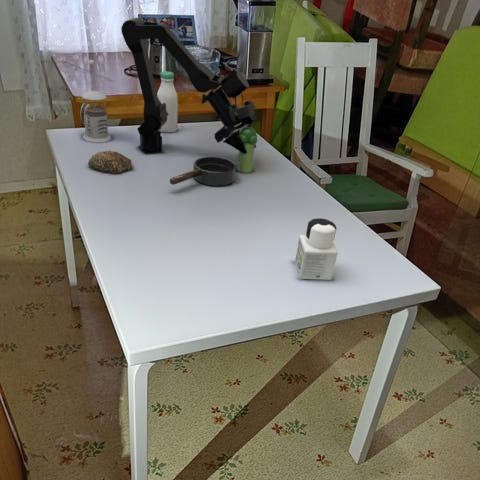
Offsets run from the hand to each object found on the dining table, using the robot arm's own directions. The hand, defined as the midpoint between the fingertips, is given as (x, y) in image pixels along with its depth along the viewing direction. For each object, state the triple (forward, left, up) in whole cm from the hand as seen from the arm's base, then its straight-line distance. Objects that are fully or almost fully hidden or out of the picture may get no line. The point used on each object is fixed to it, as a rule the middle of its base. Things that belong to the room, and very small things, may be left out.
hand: (250, 150), depth 168 cm
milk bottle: (-10, +44, -7) cm, 46 cm away
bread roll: (-41, +16, -7) cm, 44 cm away
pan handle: (-26, -6, -4) cm, 27 cm away
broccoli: (-1, +1, -7) cm, 7 cm away
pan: (-14, -2, -7) cm, 15 cm away
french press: (-38, +42, -7) cm, 57 cm away
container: (-17, -59, -7) cm, 62 cm away
